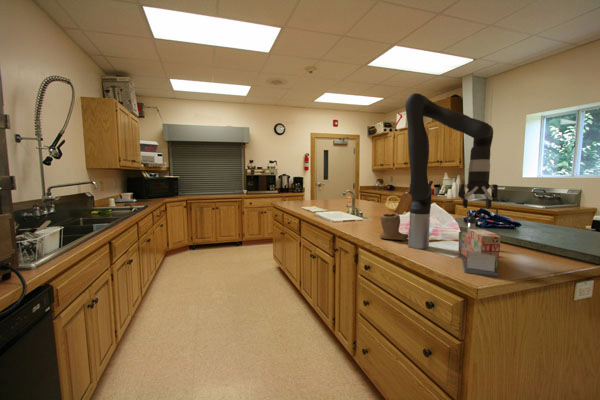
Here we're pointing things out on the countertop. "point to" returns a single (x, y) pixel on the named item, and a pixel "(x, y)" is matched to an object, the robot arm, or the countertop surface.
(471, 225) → the sliding jaw
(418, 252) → the countertop surface
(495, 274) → the vise bed
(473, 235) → the stack of blocks
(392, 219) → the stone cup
